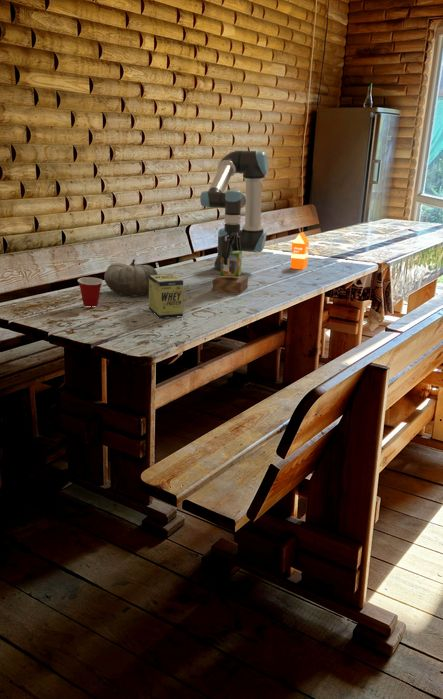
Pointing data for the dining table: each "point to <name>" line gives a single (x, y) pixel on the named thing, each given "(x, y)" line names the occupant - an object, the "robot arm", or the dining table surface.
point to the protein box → (166, 295)
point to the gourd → (129, 278)
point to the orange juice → (299, 252)
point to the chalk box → (232, 264)
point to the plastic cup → (90, 290)
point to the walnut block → (230, 284)
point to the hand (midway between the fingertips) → (230, 269)
